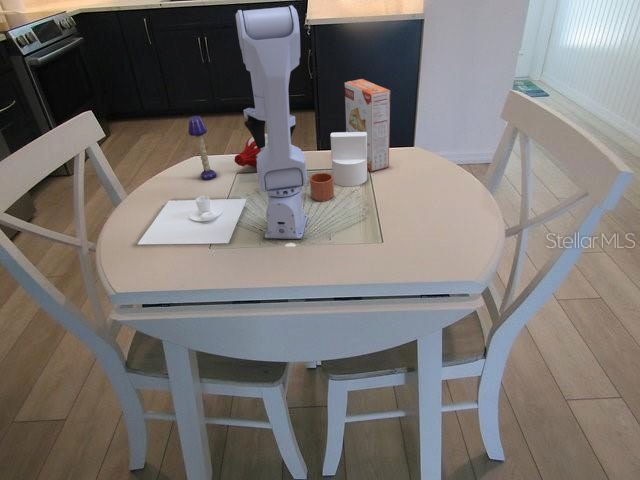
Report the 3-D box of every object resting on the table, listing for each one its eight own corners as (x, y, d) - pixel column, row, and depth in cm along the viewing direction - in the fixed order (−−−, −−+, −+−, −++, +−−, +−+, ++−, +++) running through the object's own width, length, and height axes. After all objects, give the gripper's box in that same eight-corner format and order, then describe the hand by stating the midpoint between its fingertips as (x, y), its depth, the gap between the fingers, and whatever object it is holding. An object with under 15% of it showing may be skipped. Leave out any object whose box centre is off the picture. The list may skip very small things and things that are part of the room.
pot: (332, 201, 109) (331, 182, 107) (309, 201, 110) (308, 182, 107) (335, 191, 114) (334, 172, 111) (312, 191, 115) (311, 172, 112)
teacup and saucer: (217, 224, 103) (214, 208, 101) (183, 225, 104) (179, 209, 102) (226, 205, 111) (223, 190, 109) (194, 206, 111) (191, 191, 109)
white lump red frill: (297, 163, 129) (250, 184, 123) (277, 151, 137) (233, 170, 131) (290, 133, 123) (241, 154, 118) (271, 123, 131) (224, 142, 126)
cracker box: (345, 155, 132) (343, 81, 121) (363, 151, 134) (363, 77, 123) (370, 173, 122) (370, 93, 110) (389, 168, 124) (391, 89, 112)
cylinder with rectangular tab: (367, 171, 123) (367, 127, 116) (366, 186, 115) (366, 140, 109) (333, 171, 124) (331, 128, 117) (331, 186, 116) (328, 141, 110)
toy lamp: (214, 180, 124) (202, 119, 114) (197, 181, 124) (183, 121, 115) (217, 173, 128) (206, 113, 118) (201, 174, 128) (188, 114, 119)
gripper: (301, 93, 103) (306, 150, 110) (255, 86, 110) (262, 140, 118) (281, 101, 98) (287, 160, 105) (234, 93, 106) (242, 149, 113)
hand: (272, 150), depth 111 cm, fingers open, 7 cm apart
